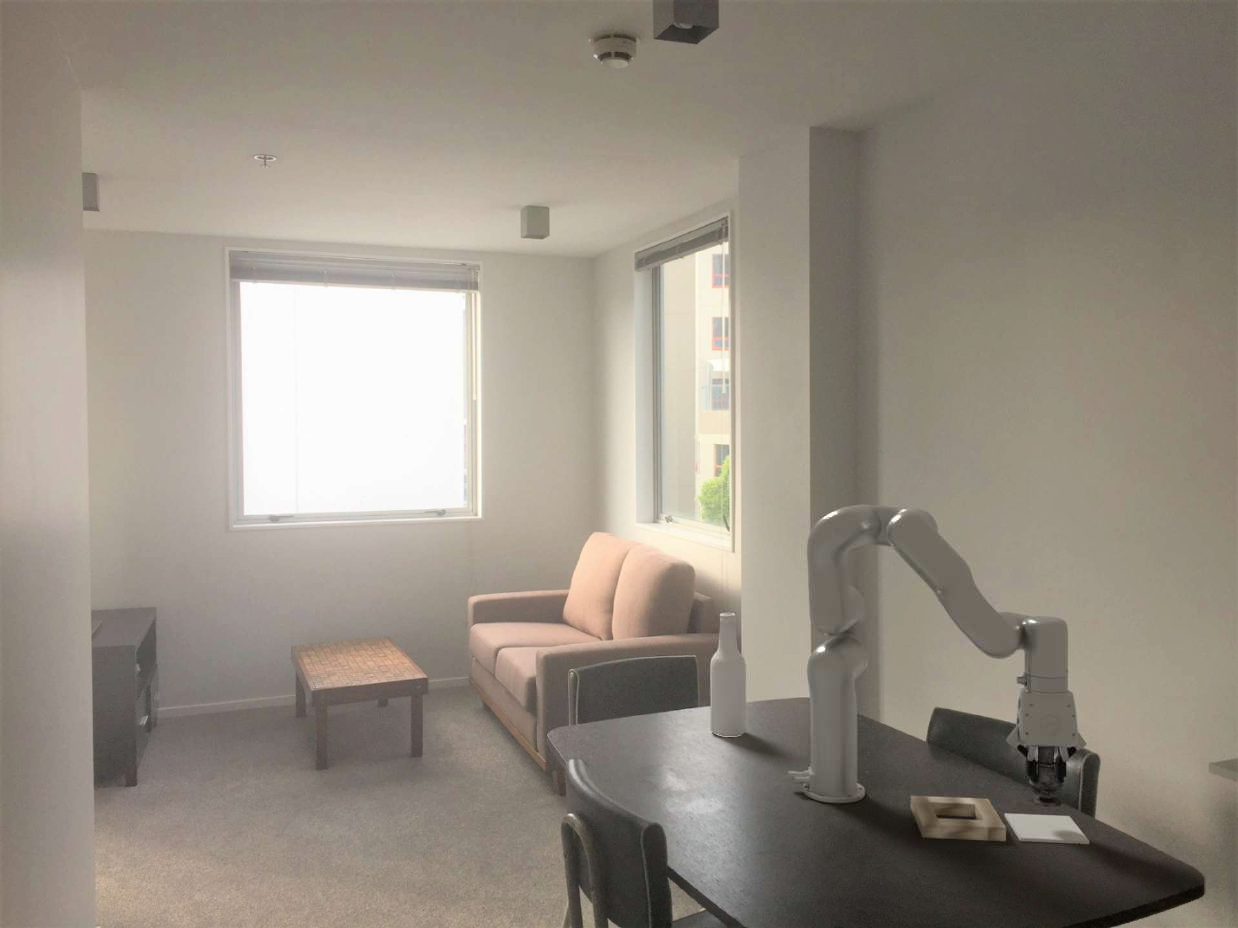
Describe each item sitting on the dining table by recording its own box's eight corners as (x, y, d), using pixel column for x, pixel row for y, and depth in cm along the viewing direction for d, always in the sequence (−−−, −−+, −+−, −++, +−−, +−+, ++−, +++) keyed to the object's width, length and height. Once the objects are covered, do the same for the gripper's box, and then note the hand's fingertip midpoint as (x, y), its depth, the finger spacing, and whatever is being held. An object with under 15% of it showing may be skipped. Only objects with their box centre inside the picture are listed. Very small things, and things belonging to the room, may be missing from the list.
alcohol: (751, 731, 255) (751, 612, 254) (737, 740, 247) (736, 618, 247) (719, 726, 260) (719, 609, 259) (704, 734, 252) (704, 615, 251)
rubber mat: (1020, 840, 186) (1020, 837, 186) (1004, 816, 198) (1004, 813, 197) (1089, 843, 184) (1089, 840, 184) (1069, 818, 196) (1069, 815, 196)
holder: (922, 837, 188) (922, 823, 188) (910, 807, 202) (910, 795, 202) (1005, 841, 186) (1006, 827, 186) (987, 811, 200) (987, 798, 200)
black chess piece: (1066, 808, 187) (1066, 743, 187) (1032, 806, 188) (1032, 742, 188) (1059, 797, 193) (1059, 734, 192) (1026, 795, 194) (1026, 733, 194)
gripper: (1004, 687, 187) (1004, 785, 188) (1099, 689, 185) (1099, 788, 186) (994, 677, 195) (994, 771, 195) (1086, 679, 192) (1086, 774, 193)
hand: (1046, 778), depth 190 cm, fingers closed on black chess piece, 4 cm apart
